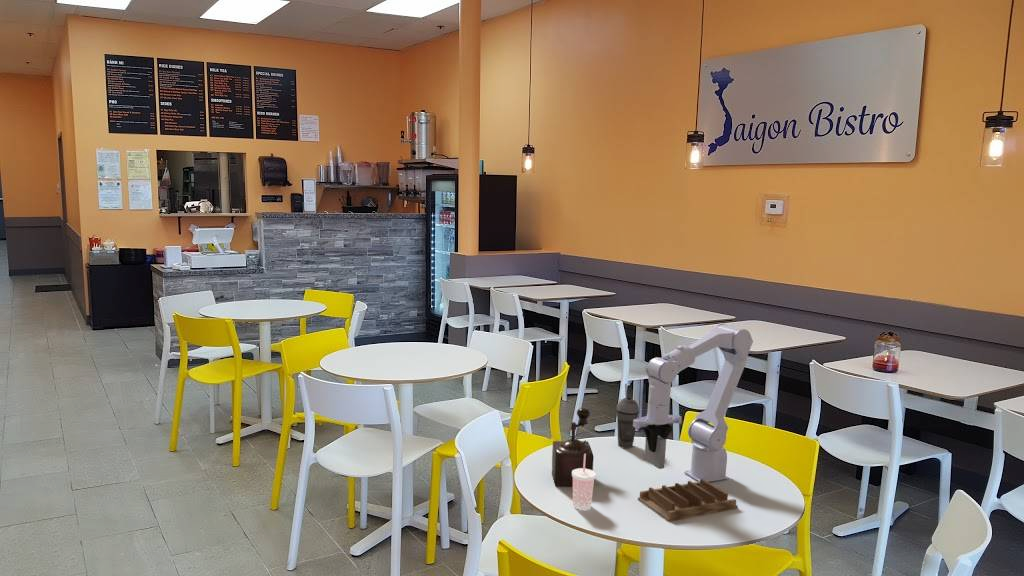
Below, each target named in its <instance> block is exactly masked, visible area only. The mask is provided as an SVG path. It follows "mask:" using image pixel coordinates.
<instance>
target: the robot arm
mask: <svg viewBox="0 0 1024 576" xmlns="http://www.w3.org/2000/svg"><path fill="white" fill-rule="evenodd" d="M753 343H754V341H753V338H752V335H751V333H750V331H749V330H748V329H746V328H741V327H736V326H733V325H728V324H727V323H723V322H721V323H718V324H717V325H715V326H713V327H711V328H710V330H709V332H708V333H707V334H705V335H703V336H702V337H701V338H699V339H698V340H696V341H695V342H694V343H691V344H690V345H689V346H688V345H680V344H678V346H676V348H675V349H674V350H671V351H670V352H668V353H664V354H663V355H662V356H661V357H657V356H656V357H654V358H652V359H650V360H649V361H648V363H647V366H646V367H645V373H646V375H647V377H648V384H649V386H648V400H647V401H648V402H647V410H646V411H647V413H646V416H643V417H638V418H637V419H634V420H633V427H635V428H636V430H639V429H641V428H642V430H643V431H644V434H645V438H646V437H647V441H648V447H649V450H650V451H651V452H655V451H656V444H657V438H658V436H660V437H662V438H664V439H666V440H667V439H668V437H669V435H670V433H672V431H673V426H671V424H682V416H681V415H680V414H670V407H671V405H670V404H671V392H672V390H671V389H672V382H673V381H675V379H676V377H677V376H678V374H679V373H680V372H681V371H683V370H685V369H686V368H688V367H690V366H691V365H694V364H695V362H696V358H697V357H699V356H702V355H704V354H705V353H707V352H710V351H712V350H714V349H716V348H718V349H719V350H720V351H721V353H722V355H723V357H724V359H725V360H724V363H723V365H722V367H721V370H720V372H719V375H718V377H717V380H716V383H715V386H714V387H713V389H712V393H711V395H710V397H709V400H708V402H707V405H706V407H705V409H704V410H702V411H701V412H699V413H696V415H695V418H694V419H693V420H692V422H691V423H690V424H689V426H688V430H687V434H688V435H687V436H688V437H689V438H690V440H691V442H690V443H691V444H692V452H691V465H690V469H688V470H684V471H683V472H684V474H686V475H687V476H689V477H691V478H692V479H694V480H695V481H696V482H700V479H704V480H706V481H707V482H709V483H710V482H715V481H717V482H718V481H722V480H727V479H728V476H726V475H727V464H728V453H727V450H726V448H725V447H724V446H725V444H726V441H727V433H728V430H729V426H728V424H727V421H726V420H725V416H726V414H727V410H728V409H729V406H730V404H731V401H732V399H733V396H734V394H735V391H736V389H737V387H738V384H739V381H740V379H741V376H742V374H743V372H744V369H745V367H746V364H747V361H748V356H749V353H750V350H751V347H752V345H753ZM710 423H711V424H710Z"/></svg>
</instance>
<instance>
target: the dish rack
mask: <svg viewBox="0 0 1024 576" xmlns="http://www.w3.org/2000/svg"><path fill="white" fill-rule="evenodd" d="M637 501H638V502H640V503H642V504H643V505H645V506H646V507H647V508H649V510H651V511H652V512H654V513H656V514H657V515H658V516H660V517H661V518H662V519H664V520H665V521H666V522H673V521H677V520H683V519H688V518H694V517H698V516H704V515H710V514H715V513H720V512H724V511H729V510H733V509H735V510H736V509H738V505H737V499H736V498H731V499H729V493H727V492H725V491H724V490H723V489H721V488H719V487H717V486H716V485H715V484H713V483H710V482H707V481H706V480H704V479H700V482H699V481H695V482H693V481H691V480H688V481H687V483H683V484H681V483H678V482H675V484H674V485H672V486H667V485H666V484H665V485H664V484H663V485H661V487H659V488H653V487H648V490H642V491H639V497H637Z"/></svg>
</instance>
